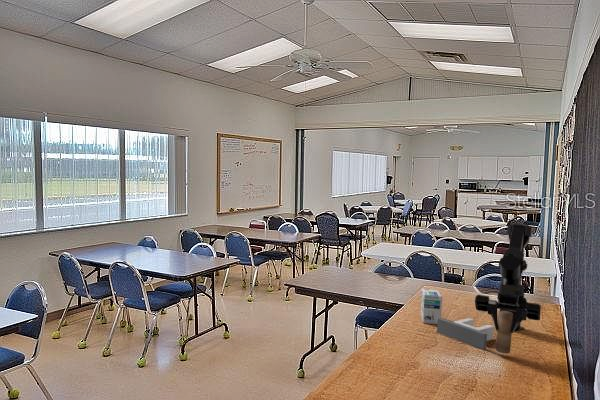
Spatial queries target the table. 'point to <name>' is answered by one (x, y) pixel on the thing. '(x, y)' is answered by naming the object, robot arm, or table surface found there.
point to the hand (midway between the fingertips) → (504, 331)
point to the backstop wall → (462, 333)
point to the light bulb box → (431, 306)
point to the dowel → (504, 331)
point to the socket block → (486, 329)
